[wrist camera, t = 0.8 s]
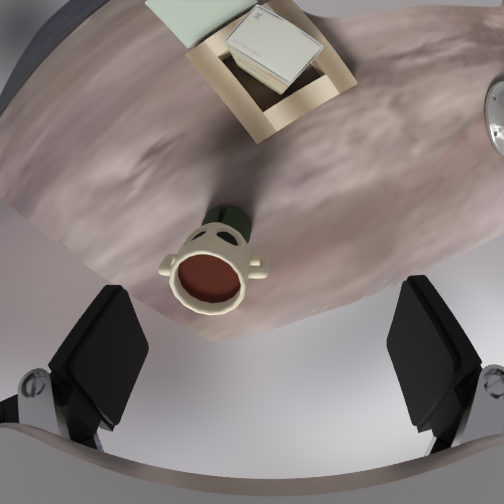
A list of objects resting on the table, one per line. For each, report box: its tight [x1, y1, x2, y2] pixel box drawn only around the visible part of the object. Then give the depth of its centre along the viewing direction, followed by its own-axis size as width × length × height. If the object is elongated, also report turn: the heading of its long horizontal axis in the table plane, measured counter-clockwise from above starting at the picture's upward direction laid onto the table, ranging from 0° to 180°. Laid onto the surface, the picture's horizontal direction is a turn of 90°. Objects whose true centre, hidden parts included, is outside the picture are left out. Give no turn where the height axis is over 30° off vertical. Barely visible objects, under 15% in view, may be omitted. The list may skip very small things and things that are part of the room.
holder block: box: [186, 0, 358, 145], centre depth 25 cm, size 13×13×3 cm
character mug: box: [158, 206, 269, 315], centre depth 30 cm, size 11×7×13 cm, turn 91°
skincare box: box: [224, 4, 323, 95], centre depth 21 cm, size 6×4×12 cm
